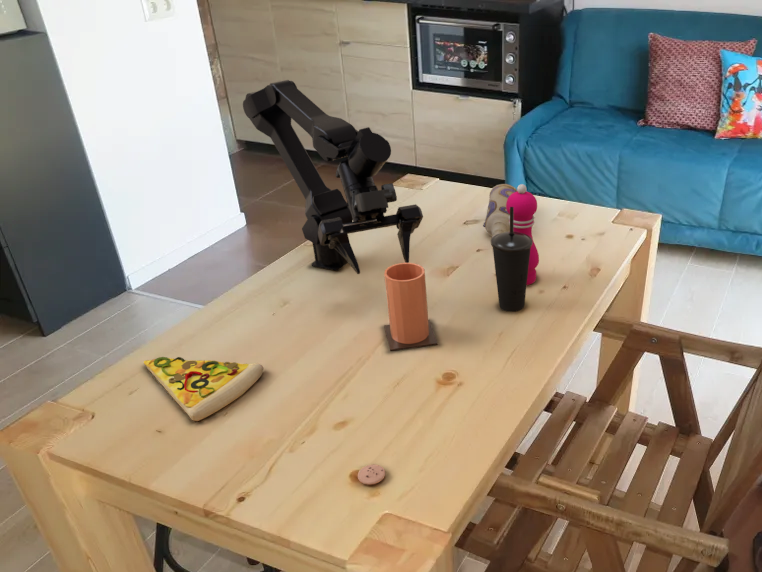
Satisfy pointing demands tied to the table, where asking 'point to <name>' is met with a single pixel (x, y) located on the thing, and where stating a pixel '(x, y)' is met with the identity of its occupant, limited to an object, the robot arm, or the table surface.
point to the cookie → (371, 474)
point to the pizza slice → (203, 382)
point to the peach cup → (407, 302)
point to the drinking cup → (511, 266)
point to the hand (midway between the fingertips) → (383, 268)
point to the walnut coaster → (400, 346)
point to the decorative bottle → (498, 210)
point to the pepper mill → (525, 223)
